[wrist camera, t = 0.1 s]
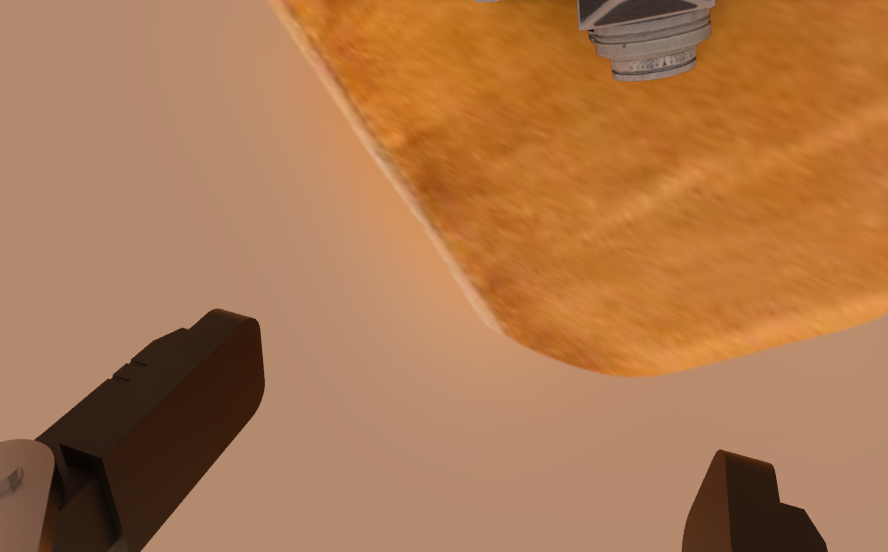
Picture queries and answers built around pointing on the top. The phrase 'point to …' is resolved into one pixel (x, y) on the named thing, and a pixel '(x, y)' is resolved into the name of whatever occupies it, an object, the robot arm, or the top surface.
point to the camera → (645, 34)
